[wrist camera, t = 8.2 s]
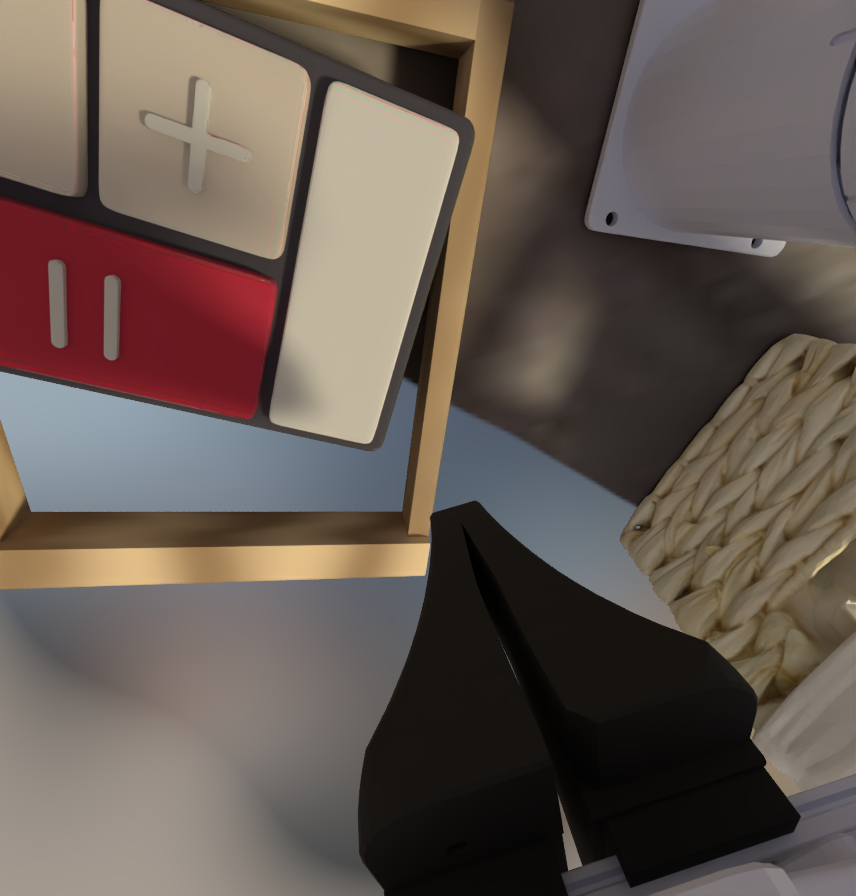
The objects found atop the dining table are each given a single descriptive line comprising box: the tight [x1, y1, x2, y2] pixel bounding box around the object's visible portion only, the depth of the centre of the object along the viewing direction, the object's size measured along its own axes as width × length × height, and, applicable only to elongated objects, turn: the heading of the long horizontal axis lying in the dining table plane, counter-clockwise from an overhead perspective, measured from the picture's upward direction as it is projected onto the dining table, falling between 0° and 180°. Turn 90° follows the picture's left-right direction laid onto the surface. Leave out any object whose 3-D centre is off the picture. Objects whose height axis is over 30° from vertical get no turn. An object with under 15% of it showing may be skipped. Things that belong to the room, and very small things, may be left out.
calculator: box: [0, 0, 475, 451], centre depth 14 cm, size 11×4×15 cm
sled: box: [0, 0, 515, 589], centre depth 16 cm, size 18×21×2 cm
